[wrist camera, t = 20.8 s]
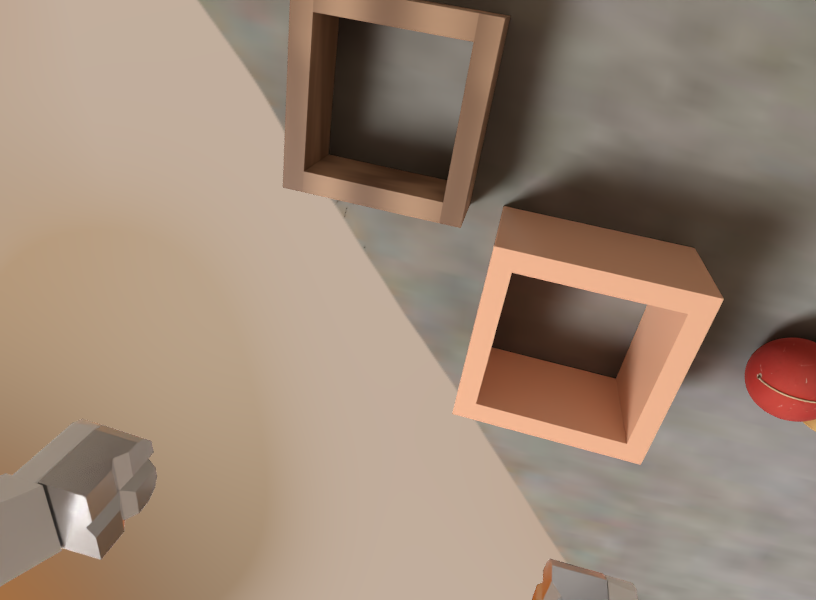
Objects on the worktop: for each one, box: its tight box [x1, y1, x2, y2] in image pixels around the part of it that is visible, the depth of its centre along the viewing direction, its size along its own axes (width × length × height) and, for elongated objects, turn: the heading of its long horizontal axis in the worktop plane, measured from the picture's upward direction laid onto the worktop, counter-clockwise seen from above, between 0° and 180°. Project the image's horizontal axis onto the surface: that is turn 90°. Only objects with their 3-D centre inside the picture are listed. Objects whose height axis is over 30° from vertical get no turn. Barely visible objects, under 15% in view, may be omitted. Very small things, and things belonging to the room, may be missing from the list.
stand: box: [452, 206, 724, 465], centre depth 41 cm, size 14×14×8 cm
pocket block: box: [283, 0, 511, 228], centre depth 38 cm, size 13×13×5 cm
